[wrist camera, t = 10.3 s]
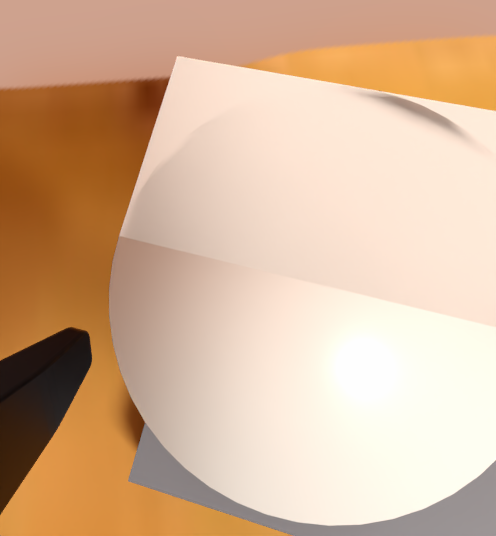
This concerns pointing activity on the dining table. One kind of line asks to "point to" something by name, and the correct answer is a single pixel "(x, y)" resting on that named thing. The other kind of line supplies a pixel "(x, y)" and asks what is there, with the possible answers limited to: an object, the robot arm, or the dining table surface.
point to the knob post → (312, 293)
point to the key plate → (383, 532)
